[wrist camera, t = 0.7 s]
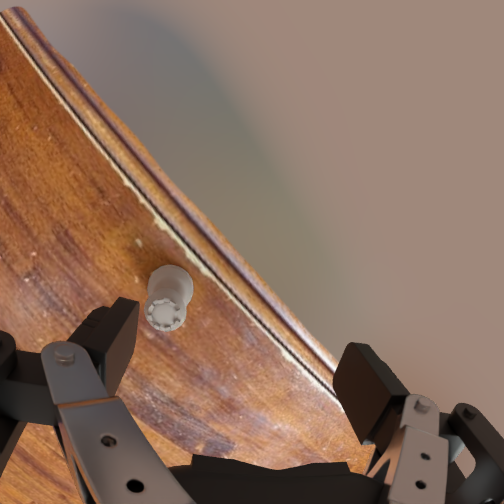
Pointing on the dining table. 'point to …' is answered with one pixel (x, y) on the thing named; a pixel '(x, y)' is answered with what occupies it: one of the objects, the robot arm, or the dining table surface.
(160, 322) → the rook chess piece
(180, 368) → the dining table surface
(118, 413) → the robot arm
